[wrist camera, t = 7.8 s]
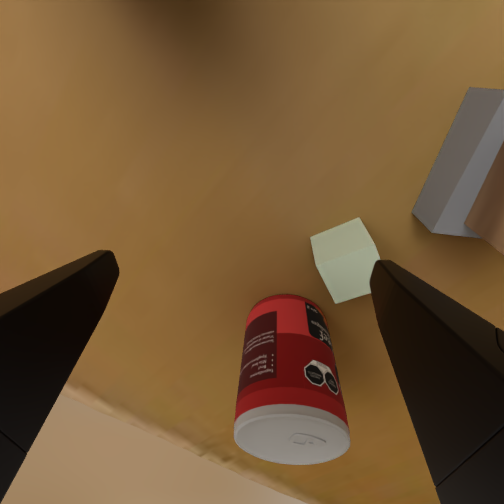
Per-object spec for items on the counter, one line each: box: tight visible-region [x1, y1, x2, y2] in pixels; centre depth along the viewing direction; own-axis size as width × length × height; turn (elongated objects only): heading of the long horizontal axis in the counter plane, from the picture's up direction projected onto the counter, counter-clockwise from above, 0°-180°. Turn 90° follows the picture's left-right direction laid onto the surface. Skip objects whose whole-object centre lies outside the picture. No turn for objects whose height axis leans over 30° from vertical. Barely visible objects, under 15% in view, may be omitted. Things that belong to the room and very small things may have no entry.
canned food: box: [234, 294, 350, 465], centre depth 23 cm, size 8×8×11 cm
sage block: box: [310, 217, 380, 304], centre depth 21 cm, size 4×4×4 cm
